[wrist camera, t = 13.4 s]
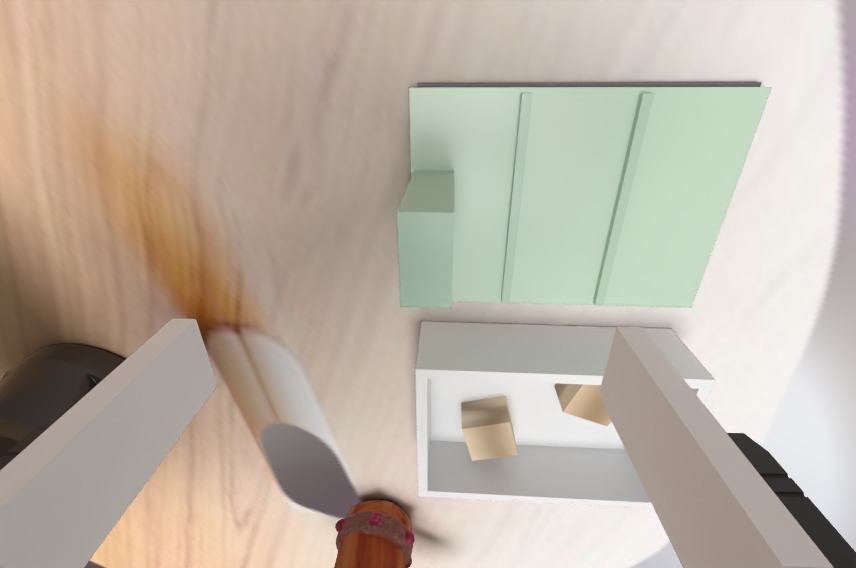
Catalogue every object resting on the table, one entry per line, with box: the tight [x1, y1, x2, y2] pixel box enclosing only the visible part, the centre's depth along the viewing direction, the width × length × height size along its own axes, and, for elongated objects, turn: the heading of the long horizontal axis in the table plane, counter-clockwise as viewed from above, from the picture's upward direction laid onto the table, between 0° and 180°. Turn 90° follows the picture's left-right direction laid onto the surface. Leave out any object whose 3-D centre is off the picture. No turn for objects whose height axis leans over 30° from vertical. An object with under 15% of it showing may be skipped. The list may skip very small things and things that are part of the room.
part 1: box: [461, 396, 518, 461], centre depth 34 cm, size 4×4×3 cm
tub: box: [415, 321, 715, 509], centre depth 32 cm, size 20×14×6 cm
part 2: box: [554, 383, 612, 426], centre depth 32 cm, size 4×4×3 cm
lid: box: [397, 87, 772, 308], centre depth 23 cm, size 21×15×10 cm
